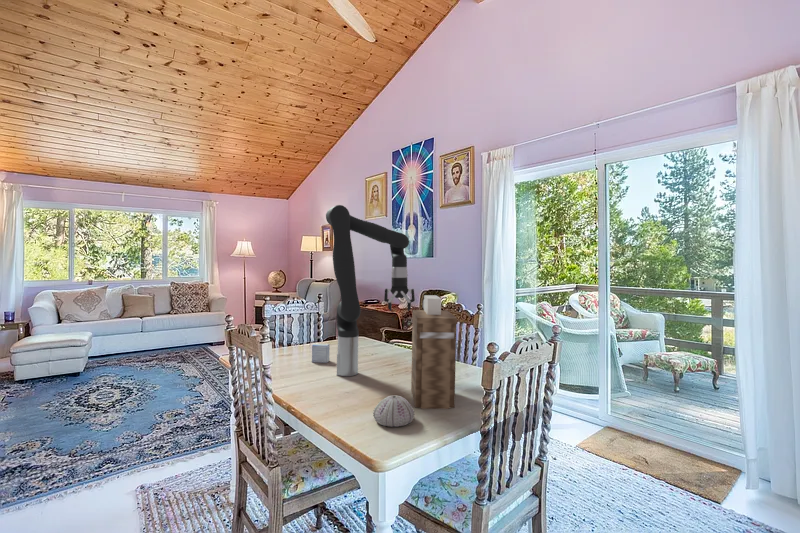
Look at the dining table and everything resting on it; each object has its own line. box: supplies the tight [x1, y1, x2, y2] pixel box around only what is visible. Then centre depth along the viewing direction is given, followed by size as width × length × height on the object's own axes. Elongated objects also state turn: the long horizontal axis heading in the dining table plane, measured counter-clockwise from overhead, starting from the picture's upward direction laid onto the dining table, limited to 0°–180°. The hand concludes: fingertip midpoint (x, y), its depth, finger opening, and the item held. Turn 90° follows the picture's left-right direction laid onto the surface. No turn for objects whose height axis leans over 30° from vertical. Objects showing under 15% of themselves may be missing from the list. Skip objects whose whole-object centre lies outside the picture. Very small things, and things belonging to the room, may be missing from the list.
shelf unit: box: [410, 309, 458, 410], centre depth 148 cm, size 14×21×32 cm
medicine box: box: [311, 342, 331, 364], centre depth 197 cm, size 8×4×9 cm, turn 84°
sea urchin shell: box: [372, 394, 415, 428], centre depth 128 cm, size 13×14×8 cm
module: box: [422, 294, 442, 315], centre depth 156 cm, size 5×21×6 cm, turn 3°
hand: (399, 310), depth 187 cm, fingers open, 8 cm apart
